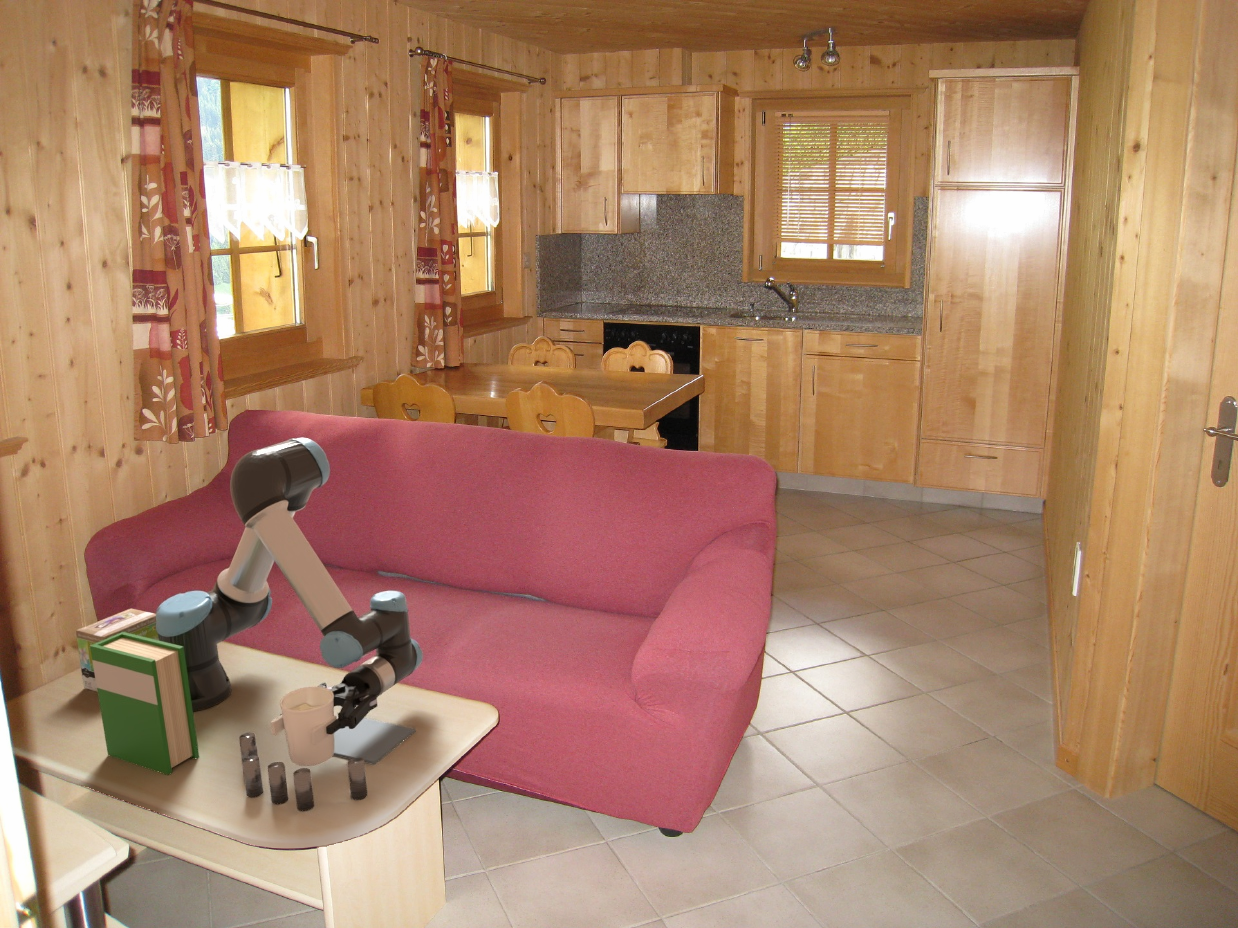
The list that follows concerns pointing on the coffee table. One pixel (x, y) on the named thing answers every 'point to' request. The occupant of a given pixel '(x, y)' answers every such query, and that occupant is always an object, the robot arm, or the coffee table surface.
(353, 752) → the mat
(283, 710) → the candle holder
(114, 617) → the tea box
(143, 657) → the hardback book
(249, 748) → the spacer posts
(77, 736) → the coffee table surface
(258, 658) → the coffee table surface
